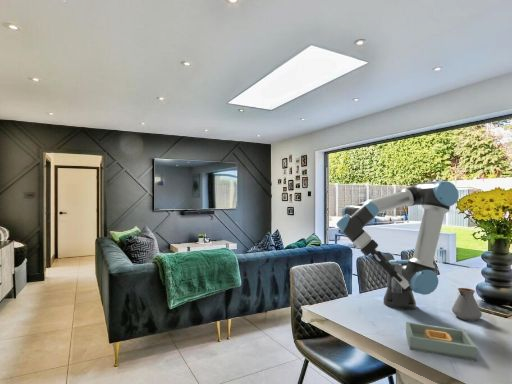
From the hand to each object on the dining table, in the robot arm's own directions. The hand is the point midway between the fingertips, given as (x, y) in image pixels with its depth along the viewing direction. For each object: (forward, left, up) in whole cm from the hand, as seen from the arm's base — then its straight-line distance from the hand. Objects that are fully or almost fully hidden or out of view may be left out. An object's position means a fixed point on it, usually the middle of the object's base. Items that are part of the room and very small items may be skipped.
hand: (406, 285), depth 131 cm
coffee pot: (-18, +25, -17) cm, 36 cm away
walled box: (+15, +9, -17) cm, 25 cm away
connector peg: (0, -4, -3) cm, 5 cm away
